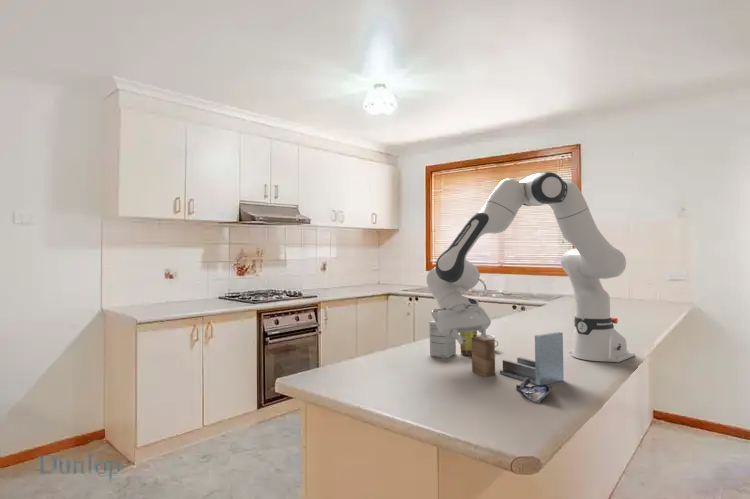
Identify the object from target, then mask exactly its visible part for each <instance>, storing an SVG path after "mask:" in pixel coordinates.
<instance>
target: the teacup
mask: <svg viewBox="0 0 750 499" xmlns="http://www.w3.org/2000/svg"><path fill="white" fill-rule="evenodd" d="M486 335H487V336H488V338H492V339H495V342H496V343H497V344H495V348H497V347H498V346H499V341H498V340H497V339H496V336H495V335H493V334H487V333H486ZM479 336H481V333H479V334H478V333H477V337H479Z"/></svg>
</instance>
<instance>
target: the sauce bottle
mask: <svg viewBox="0 0 750 499" xmlns="http://www.w3.org/2000/svg"><path fill="white" fill-rule="evenodd" d="M477 334H478V330H477V331H470V332H462V333H459V335H460V336H463V337H464V339H465V342H464V343H463V344H459V345H460V346H459V348H460V349H459V350H460V354H462V355H464V356H472V337H477Z"/></svg>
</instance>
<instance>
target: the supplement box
mask: <svg viewBox="0 0 750 499" xmlns="http://www.w3.org/2000/svg"><path fill="white" fill-rule="evenodd" d="M428 322H429V355H430V356H432V357H437V358H445V359H446V358H447V359H448V358H450V357H452V356H454V355H456V353H457V346H456V344H457V342H456V341H457V340H456V339H455V338H454V337H452V336H451V334H446V335H442V334H441V333H439V331H438V329H437V327H436V324H435V321H434V320H432V321H428Z"/></svg>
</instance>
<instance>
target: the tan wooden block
mask: <svg viewBox="0 0 750 499" xmlns="http://www.w3.org/2000/svg"><path fill="white" fill-rule="evenodd" d="M495 340H496V338H495V339H492V338H487V337H483V336H479V337H472V355H471V372H472V374H473V373H474V374H477V375H480V376H482V377H485V378H486V377H491V376H495V375H496V352H495V351H496V347H495V346H496V343H495V342H496V341H495Z"/></svg>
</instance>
